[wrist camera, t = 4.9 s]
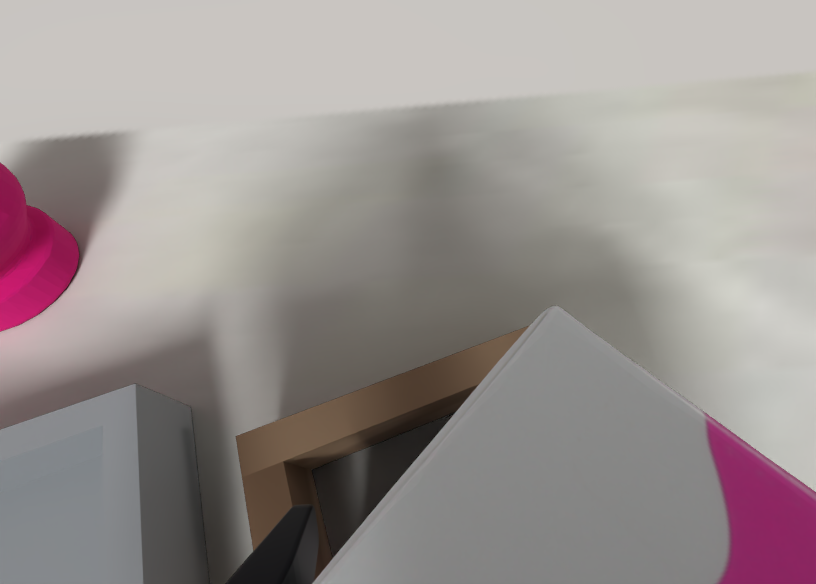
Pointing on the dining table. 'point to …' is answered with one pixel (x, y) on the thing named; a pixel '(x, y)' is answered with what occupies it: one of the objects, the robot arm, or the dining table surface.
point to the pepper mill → (30, 256)
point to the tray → (103, 494)
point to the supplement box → (583, 485)
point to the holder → (351, 433)
